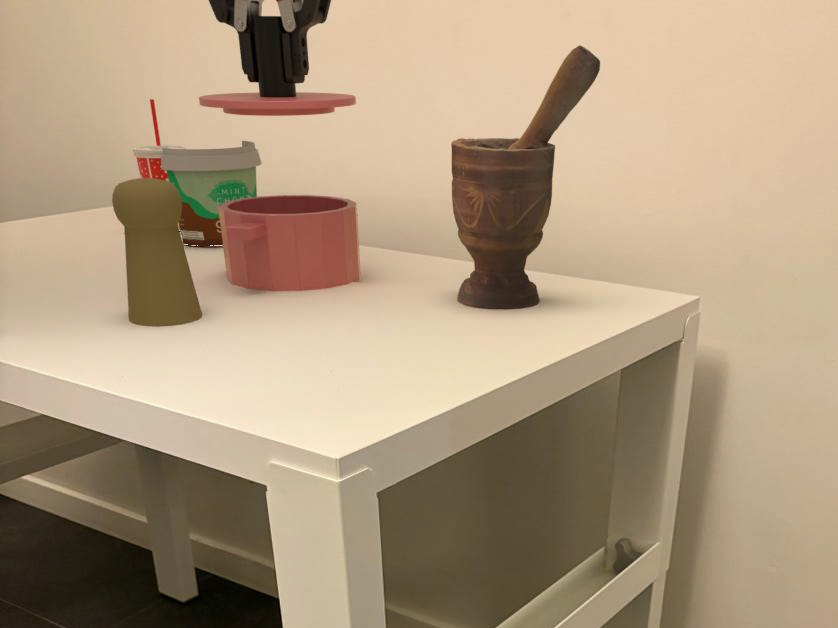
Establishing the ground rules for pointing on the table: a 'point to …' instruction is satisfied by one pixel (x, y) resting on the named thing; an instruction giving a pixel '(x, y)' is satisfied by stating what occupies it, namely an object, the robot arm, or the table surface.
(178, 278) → the cork
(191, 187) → the food container
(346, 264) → the pot
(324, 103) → the lid
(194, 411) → the table surface
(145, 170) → the beverage cup
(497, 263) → the mortar and pestle
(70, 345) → the table surface
